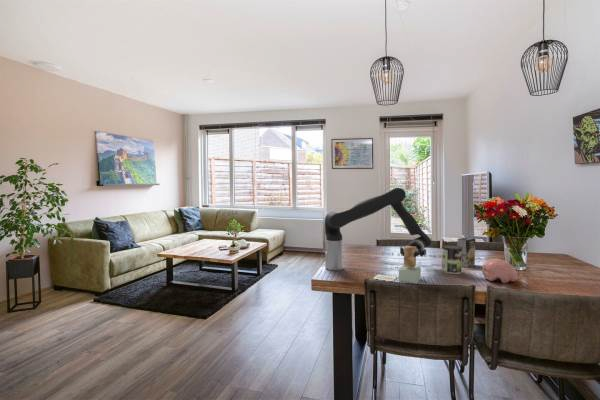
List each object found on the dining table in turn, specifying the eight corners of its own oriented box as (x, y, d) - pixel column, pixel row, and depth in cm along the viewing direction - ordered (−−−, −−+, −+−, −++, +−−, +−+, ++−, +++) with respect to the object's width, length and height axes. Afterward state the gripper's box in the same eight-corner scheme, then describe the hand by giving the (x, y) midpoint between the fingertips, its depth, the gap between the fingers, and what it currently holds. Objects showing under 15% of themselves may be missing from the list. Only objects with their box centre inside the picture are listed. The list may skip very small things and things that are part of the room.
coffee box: (467, 267, 188) (467, 240, 187) (456, 265, 194) (457, 238, 192) (475, 265, 194) (475, 238, 192) (464, 262, 199) (465, 237, 198)
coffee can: (465, 271, 180) (465, 247, 179) (455, 275, 174) (456, 249, 173) (447, 267, 188) (447, 244, 187) (437, 271, 182) (438, 246, 181)
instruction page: (373, 278, 170) (373, 278, 170) (377, 274, 177) (377, 274, 177) (392, 281, 165) (392, 281, 165) (396, 277, 171) (396, 276, 171)
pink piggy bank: (504, 285, 170) (515, 264, 168) (515, 293, 157) (527, 271, 156) (474, 272, 172) (485, 251, 171) (483, 279, 160) (494, 257, 158)
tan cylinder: (403, 266, 167) (403, 247, 166) (406, 264, 171) (406, 245, 170) (413, 267, 164) (414, 248, 163) (415, 265, 168) (416, 246, 167)
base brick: (398, 280, 166) (398, 269, 166) (403, 276, 174) (403, 265, 174) (417, 283, 162) (417, 271, 161) (420, 278, 169) (420, 267, 169)
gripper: (402, 240, 182) (394, 245, 168) (429, 242, 175) (423, 248, 161) (402, 253, 183) (394, 260, 168) (429, 256, 176) (423, 263, 161)
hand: (408, 254), depth 165 cm, fingers closed on tan cylinder, 5 cm apart
